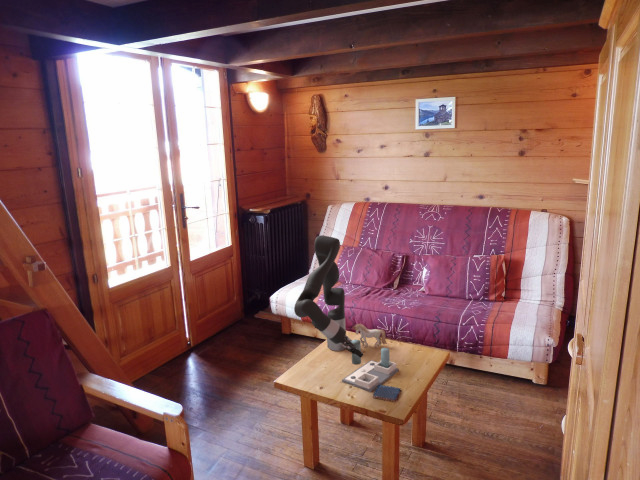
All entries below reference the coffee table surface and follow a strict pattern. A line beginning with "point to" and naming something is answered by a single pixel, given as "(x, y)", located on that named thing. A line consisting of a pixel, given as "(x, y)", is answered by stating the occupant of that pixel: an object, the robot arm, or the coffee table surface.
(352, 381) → the peg board
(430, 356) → the coffee table surface
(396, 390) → the woven mat
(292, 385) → the coffee table surface
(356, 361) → the teal peg
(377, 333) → the unicorn figurine
